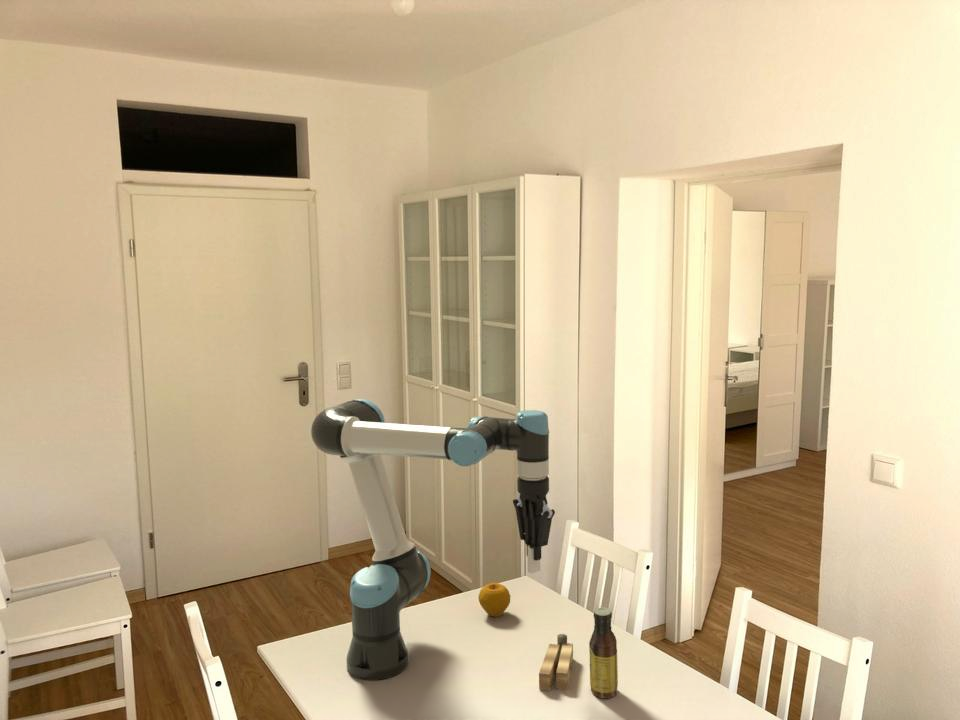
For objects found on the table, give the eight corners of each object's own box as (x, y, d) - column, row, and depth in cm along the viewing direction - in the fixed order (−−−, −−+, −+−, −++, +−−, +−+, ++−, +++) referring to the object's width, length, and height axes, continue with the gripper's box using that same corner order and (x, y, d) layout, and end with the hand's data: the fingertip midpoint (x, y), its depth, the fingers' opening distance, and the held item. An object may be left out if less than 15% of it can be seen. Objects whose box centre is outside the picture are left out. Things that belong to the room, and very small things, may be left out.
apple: (477, 608, 221) (477, 578, 220) (509, 606, 222) (508, 576, 221) (479, 622, 213) (479, 591, 211) (512, 621, 213) (511, 590, 212)
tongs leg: (549, 658, 192) (549, 643, 192) (559, 660, 192) (559, 644, 191) (539, 689, 179) (538, 673, 178) (549, 690, 178) (549, 674, 178)
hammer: (558, 653, 195) (557, 633, 195) (573, 654, 195) (573, 634, 194) (550, 688, 180) (550, 667, 179) (567, 689, 179) (567, 668, 178)
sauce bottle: (599, 681, 182) (598, 601, 179) (622, 690, 178) (622, 608, 175) (584, 694, 177) (583, 611, 174) (608, 703, 173) (608, 619, 170)
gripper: (563, 479, 181) (563, 575, 184) (527, 467, 191) (528, 559, 195) (538, 485, 177) (539, 584, 180) (503, 473, 187) (505, 566, 190)
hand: (534, 571), depth 187 cm, fingers closed
